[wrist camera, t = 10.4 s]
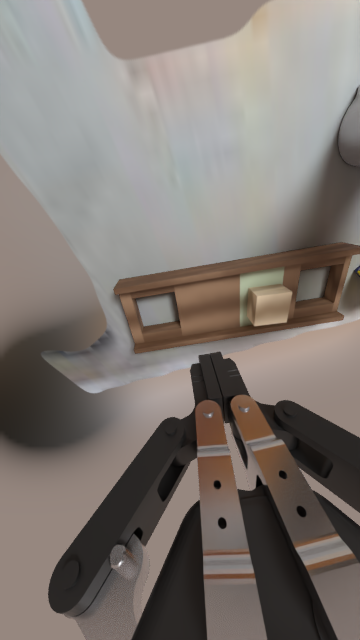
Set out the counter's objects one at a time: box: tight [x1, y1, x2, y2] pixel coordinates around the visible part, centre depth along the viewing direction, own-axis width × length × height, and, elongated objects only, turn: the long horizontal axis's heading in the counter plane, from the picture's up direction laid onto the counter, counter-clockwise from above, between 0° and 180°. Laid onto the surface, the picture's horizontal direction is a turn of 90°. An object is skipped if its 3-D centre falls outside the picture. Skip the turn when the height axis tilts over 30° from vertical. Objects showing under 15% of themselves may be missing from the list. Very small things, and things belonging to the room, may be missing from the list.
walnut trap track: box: [113, 242, 360, 354], centre depth 39 cm, size 14×42×5 cm, turn 98°
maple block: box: [247, 284, 292, 326], centre depth 37 cm, size 6×6×4 cm
